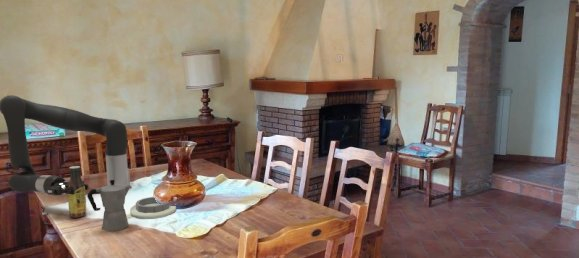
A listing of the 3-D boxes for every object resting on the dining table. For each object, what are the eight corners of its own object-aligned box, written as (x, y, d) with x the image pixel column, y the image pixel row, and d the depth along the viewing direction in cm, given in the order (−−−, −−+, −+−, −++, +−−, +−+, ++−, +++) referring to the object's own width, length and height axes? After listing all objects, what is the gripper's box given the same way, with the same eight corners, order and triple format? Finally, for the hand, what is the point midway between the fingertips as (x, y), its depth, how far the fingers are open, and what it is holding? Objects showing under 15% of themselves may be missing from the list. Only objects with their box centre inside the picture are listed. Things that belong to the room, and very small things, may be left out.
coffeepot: (130, 219, 177) (127, 174, 174) (136, 227, 169) (133, 180, 166) (87, 227, 169) (84, 180, 166) (92, 236, 161) (88, 186, 158)
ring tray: (150, 201, 198) (150, 193, 198) (184, 207, 191) (184, 198, 190) (120, 215, 182) (119, 205, 181) (156, 221, 175) (155, 211, 174)
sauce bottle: (80, 219, 178) (75, 169, 174) (66, 217, 179) (61, 168, 175) (90, 213, 184) (86, 165, 181) (76, 212, 185) (72, 164, 182)
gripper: (33, 180, 178) (64, 184, 172) (64, 171, 191) (94, 175, 185) (35, 198, 180) (66, 204, 173) (66, 189, 193) (96, 193, 186)
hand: (80, 189), depth 179 cm, fingers closed on sauce bottle, 6 cm apart
